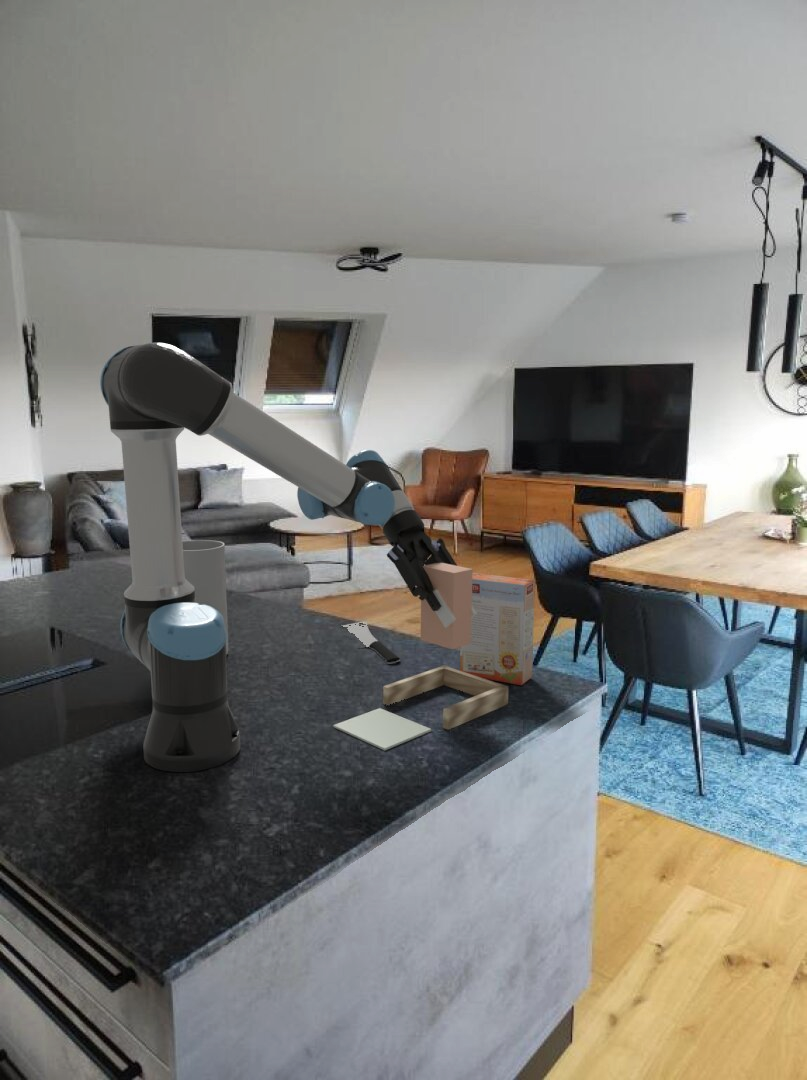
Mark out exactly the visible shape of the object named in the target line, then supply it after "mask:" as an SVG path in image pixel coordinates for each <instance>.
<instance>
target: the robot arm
mask: <svg viewBox="0 0 807 1080" xmlns="http://www.w3.org/2000/svg"><path fill="white" fill-rule="evenodd" d="M99 380H100V391H101V394H102V397H103V399H104V401H105V403H106V405H107V406H108V414H109V415H108V417H109V426H110V427H109V428H110V432H111V433H112V434H114V435H115V436H116V437H117V438H118V439H119V441H120V442H121V454H122V464H123V466H122V467H123V477H124V478H123V479H124V480H123V481H124V490H125V491H124V492H125V502H126V517H127V528H128V529H127V530H128V541H129V543H128V545H129V555H130V567H131V580H132V582H131V584H129V586H128V587H127V588H126V589H125V590H124V592H123V598H124V599H123V601H124V611H123V613H122V615H121V619H120V623H119V624H120V626H119V627H120V633H121V638H122V640H123V641H122V642H123V643H124V646H125V647H126V648H127V650H128V652H129V653H130V654H131V655H132V656H134V658H136V659H138V661H139V662H140V663H141V664H143V665H144V667H146V668H147V669H148V670H149V671H150V681H151V697H152V711H151V714H150V715H151V716H150V719H149V722H148V726H147V729H146V733H145V737H144V739H143V745H142V746H143V747H142V748H143V759H144V761H145V763H146V764H147V765H148V766H150V767H151V768H154V769H157V770H160V771H165V772H171V773H172V772H173V773H188V772H190V773H191V772H198V771H203V770H207V769H211V768H215V767H218V766H221V765H223V764H225V763H227V762H228V761H229V762H230V761H231V760H232V759H233V758H235V757H236V756H237V755H238V753H239V752H240V749H241V735H240V730H239V729H238V726H237V723H236V721H235V718H234V715H233V712H232V710H231V708H230V705H229V701H228V677H227V676H228V675H227V674H228V672H227V671H228V670H227V669H228V667H227V655H226V629H225V627H224V619H223V617H222V615H221V614H220V612H219V611H218V610H216V609H215V608H213V607H211V606H208V605H200V604H199V603H195V589H194V586H193V585H192V584H191V583H189V582H188V581H187V580H186V579H185V574H184V559H183V543H182V541H183V531H182V530H183V529H182V517H181V501H180V499H181V498H180V485H179V472H178V469H179V467H178V458H177V457H178V456H177V455H178V454H177V438H178V437H179V436H180V434H181V433H183V431H184V430H185V429H186V430H188V431H190V432H191V433H193V434H195V435H197V436H199V437H201V436H205V435H209V436H210V437H213V438H215V439H216V440H218V441H220V442H221V443H223V444H224V445H226V446H228V447H230V449H233V450H235V451H236V452H238V453H240V454H241V455H242V456H245V457H247V458H248V459H250V460H251V461H253V462H255V463H256V464H258V465H260V466H262V467H263V468H265V469H267V470H269V471H270V472H272V473H273V474H276V476H279V477H281V478H282V479H284V480H286V481H287V482H289V483H291V484H292V485H294V486H296V487H297V491H296V492H297V493H296V496H297V502H298V506H299V507H300V510H301V512H302V514H303V515H304V517H306V518H307V519H309V520H318V519H324V518H326V517H329V516H333V517H336V518H337V517H338V518H341V519H345V520H348V521H349V520H350V521H352V522H355V523H358V524H362V525H364V526H379V527H380V529H381V530H382V533H383V535H384V537H385V538H386V540H387V542H388V543H389V545H390V546H392V547H391V549H390V550H389V551H388V553H386V557H387V558H388V559H389V560H390V561H391V562H392V563H393V564H394V566H395V568H396V569H397V571H398V572H399V574H400V577H402V580H403V581H404V583H405V584H406V586H407V588H408V589H409V592H410V594H412V596H414V597H418V596H419V597H418V599H419V601H421V600H424V599H426V601H427V602H428V604H429V606H430V607H431V609H432V610H433V611H435V612H436V614H437V616H438V617H439V619H440V620H441V622H442V624H443V625H444V627H445V628H447V627H449V626H450V625H451V624H452V623H453V622H454V621H455V620H456V618H455V616H454V615H453V613H452V612H451V610H450V608H449V607H448V605H447V604H446V602H445V600H444V599H443V597H442V596H441V594H440V592H439V591H438V589H437V590H434V591H433V587H432V584H431V581H430V579H429V576H428V574H427V573H426V571H425V569H424V568H423V566H424V565H429V564H434V563H446V564H450V565H455V566H458V564H457V562H456V561H455V559H454V557H453V556H452V555H451V554H450V551H448V549H447V547H446V543H445V541H444V539H442V538H441V537H440V538H438V539H437V540H434V539H432V538H431V537H430V536H429V535H428V534H426V531H425V523H424V522H423V520H422V518H421V517H420V515H419V514H418V512H417V511H416V510H415V508H414V505H413V503H412V502H411V500H410V499H409V498H408V496H407V494H406V493H405V491H403V489H402V487H401V486H400V485H399V484H400V483H398V481H397V479H396V477H395V476H394V475H393V473H392V471H391V469H390V467H389V466H388V464H387V463H386V461H384V459H383V457H381V455H380V454H379V453H378V452H377V451H375V450H373V449H365V450H361V451H359V452H358V453H357V454H353V456H351V457H350V458H349V459H348V461H347V462H346V464H345V463H344V462H342V461H340V460H339V459H337V458H336V457H334V456H333V455H331V454H330V453H328V452H326V451H325V450H323V449H322V448H320V447H319V446H317V445H316V444H314V443H312V442H311V441H309V440H308V439H306V438H305V437H303V436H301V435H300V434H299V433H297V432H296V431H294V430H293V429H291V428H290V427H288V426H286V425H285V424H283V423H281V422H280V421H279V420H277V419H276V418H274V417H272V416H271V415H269V414H267V413H266V411H265V412H264V411H263V410H261V409H260V408H258V407H257V406H256V405H254V404H252V403H251V402H249V401H248V400H246V399H244V398H243V397H241V396H240V395H238V394H236V393H235V392H234V389H233V384H232V383H231V382H230V381H229V380H227V379H226V378H224V377H223V376H221V375H220V374H218V373H217V372H215V371H214V370H212V369H211V368H209V367H208V366H206V365H205V364H203V363H202V362H201V361H200V360H198V359H196V358H195V357H193V356H192V355H190V354H189V353H188V352H186V351H185V350H183V349H180V348H178V347H177V346H175V345H172V344H169V343H165V342H149V343H145V344H137V345H135V344H134V345H129V346H126V347H124V348H122V349H120V350H117V352H115V353H114V354H113V355H112V356H111V357H110V358H109V359H108V360H107V361H106V362H105V364H104V366H103V368H102V371H101V374H100V379H99ZM476 614H477V612H476V611H475V609H474V608H473V606H472V613H471V619H472V618H473V617H474V616H475V615H476Z"/></svg>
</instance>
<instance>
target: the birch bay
mask: <svg viewBox="0 0 807 1080" xmlns="http://www.w3.org/2000/svg"><path fill="white" fill-rule="evenodd" d="M442 686H446V687H448V688H451V689H454V690H457V691H459V690H460V692H462V691H463V693H466V694H468V695H471V696H472V697H469V698H466V699H464V700H463V701H460V702H459V701H458V702H457V703H454V704H452V705H450V706H447V707H445V708H443V710H442V728H443V729H445V730H451V729H453V728H456V727H458V726H461V725H463V724H465V723H467V722H469V721H472V720H475V719H477V718H479V717H482V716H484V715H486V714H488V713H491V712H494V711H495V710H498V709H500V708H503V707H505V706H508V704H509V686H508V685H505V684H503V683H499V682H497V681H496V682H495V681H494V680H490V679H485V678H481V677H478V676H474V675H471V674H468V673H465V672H462V671H460V669H459V670H458V669H456V668H452V667H450V666H446V665H442V666H441V665H440V666H438V667H435V668H432V669H429V670H428V671H427V670H425V671H424V672H421V673H418V674H415V675H413V676H409V677H406V678H404V679H403V678H402V679H400V680H398V681H395V682H392V683H388V684H386V685H383V686H382V687H383V688H382V689H383V690H382V691H383V693H382V703H383V705H385V704H386V705H385V706H387V705H388V706H391V705H394V704H396V703H395V702H397V703H399V702H402V701H404V699H405V700H407V699H410V698H413V697H415V696H418V695H421V694H424V693H426V692H428V691H431V690H434V689H437V688H440V687H442ZM423 692H424V693H423ZM401 700H402V701H401ZM393 703H394V704H393ZM390 704H391V705H390Z"/></svg>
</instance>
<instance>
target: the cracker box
mask: <svg viewBox="0 0 807 1080" xmlns="http://www.w3.org/2000/svg"><path fill="white" fill-rule="evenodd" d="M535 581H536V579H527V578H519V577H511V576H504V575H496V574H493V575H492V574H487V573H486V574H485V573H478V572H473V577H472V606H473V608H474V609H475V611H476V612H477V614H476V615H475V616H474V617H473V618H472V619H471V644H468V645H465V646H462V647H459V654H460V655H459V656H460V657H459V671H462V672H465V673H468V674H471V675H474V676H478V677H481V678H484V679H487V680H490V681H494V682H495V681H496V682H502V683H507V684H512V685H517V686H523V685H524V684H525V683H527V682H528V681H529V680H530V679H532V678H533V657H534V656H533V654H534V619H535Z"/></svg>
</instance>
